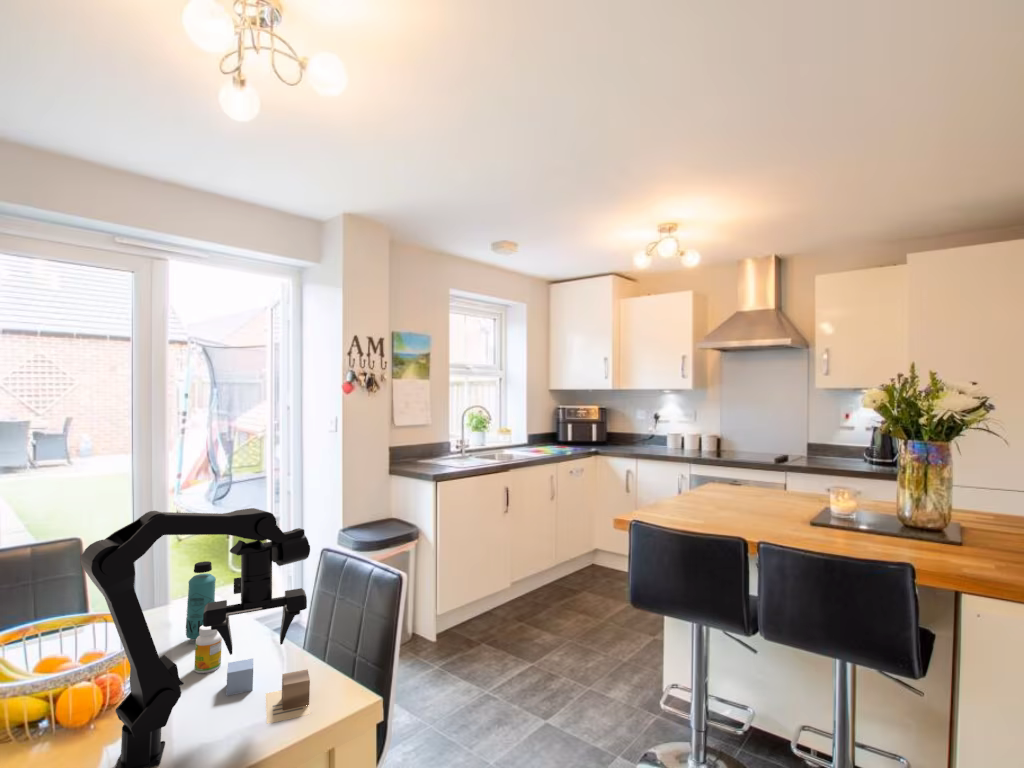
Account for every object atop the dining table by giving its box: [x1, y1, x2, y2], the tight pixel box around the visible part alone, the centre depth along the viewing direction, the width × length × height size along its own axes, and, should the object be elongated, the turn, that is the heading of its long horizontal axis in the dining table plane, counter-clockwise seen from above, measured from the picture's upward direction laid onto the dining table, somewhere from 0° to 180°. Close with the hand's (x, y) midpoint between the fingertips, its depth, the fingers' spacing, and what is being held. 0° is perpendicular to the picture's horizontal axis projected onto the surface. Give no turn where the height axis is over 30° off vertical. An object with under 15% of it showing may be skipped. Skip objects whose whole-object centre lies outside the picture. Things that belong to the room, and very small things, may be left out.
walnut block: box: [281, 668, 311, 710], centre depth 112 cm, size 5×5×5 cm
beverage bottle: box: [185, 560, 216, 640], centre depth 141 cm, size 6×7×20 cm
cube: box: [226, 658, 254, 696], centre depth 117 cm, size 5×5×5 cm
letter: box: [265, 689, 311, 724], centre depth 111 cm, size 12×8×1 cm, turn 26°
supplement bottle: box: [194, 625, 223, 674], centre depth 126 cm, size 5×5×10 cm
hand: (256, 648), depth 109 cm, fingers open, 9 cm apart
